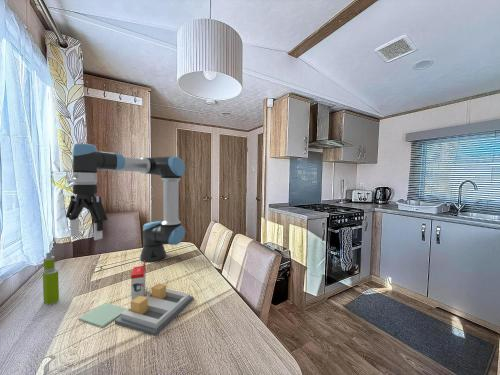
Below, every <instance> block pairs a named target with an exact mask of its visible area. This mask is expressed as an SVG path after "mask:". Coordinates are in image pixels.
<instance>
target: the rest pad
mask: <svg viewBox="0 0 500 375" xmlns="http://www.w3.org/2000/svg"><path fill="white" fill-rule="evenodd" d="M126 309H127V308H126V307H123V306H118V305H116V304H112V303H109V302H108V303H107V302H103V304H101V305H99V306H97V307H96V308H93V309H91V311H88V312H87V313H85V314H83V315H82V316H80V317H78V320H79V321H81V322H84V323H88V324H90V325H93V326H96V327H99V328H104V327H106V326H108V325H109V324H110V323H112V322H113V321H115V320H116V319H117V318H119V317H120V316H121V313H122V312H123V311H125V310H126Z"/></svg>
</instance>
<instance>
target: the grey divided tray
mask: <svg viewBox="0 0 500 375" xmlns="http://www.w3.org/2000/svg"><path fill="white" fill-rule="evenodd" d="M145 297H147V298H148V311H147V312H145V313H144V314H143V315H141V314H138V313H134V312H131V305H130V306H129V307H128V308H126V310H125V311H123V312H122V313H121V315H120V316H119V317H117V318H116V319H114V324H115V325H119V326H123V327H125V328H128V329H132V330H135V331H138V332H141V333H143V334H147V335H149V336H150V335H151V336H153V337H156V336H158V334H159V333H161V332H162V331H163V330H164V329H165V328H166V327H167V326H168V325H169V324H170V323H171V322H173V320H174V319H176V317H178V315H179V314H181V312H182V311H184V310H185V309H186V308H187V307H188V306H189V305H190V304H192V302H193V301H195V296H191V294H190V293H187V292H181V291H178V290H177V291H176V290H173V289H170V288H166V297H165V298H164V299H159V298H155V297H152V292H150V293H148V294H147V295H145Z"/></svg>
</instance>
